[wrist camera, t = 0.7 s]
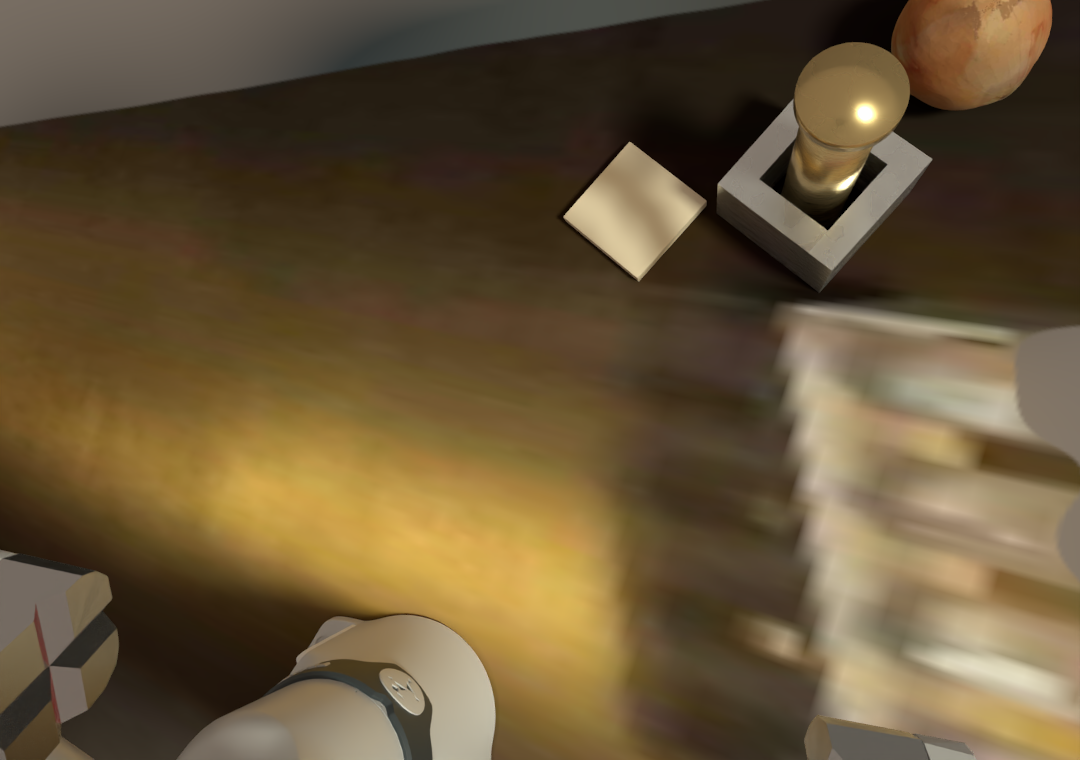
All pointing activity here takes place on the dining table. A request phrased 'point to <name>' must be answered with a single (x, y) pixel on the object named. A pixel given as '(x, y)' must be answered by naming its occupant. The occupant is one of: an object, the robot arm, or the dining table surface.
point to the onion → (969, 48)
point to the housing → (790, 229)
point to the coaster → (635, 211)
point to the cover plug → (841, 123)
